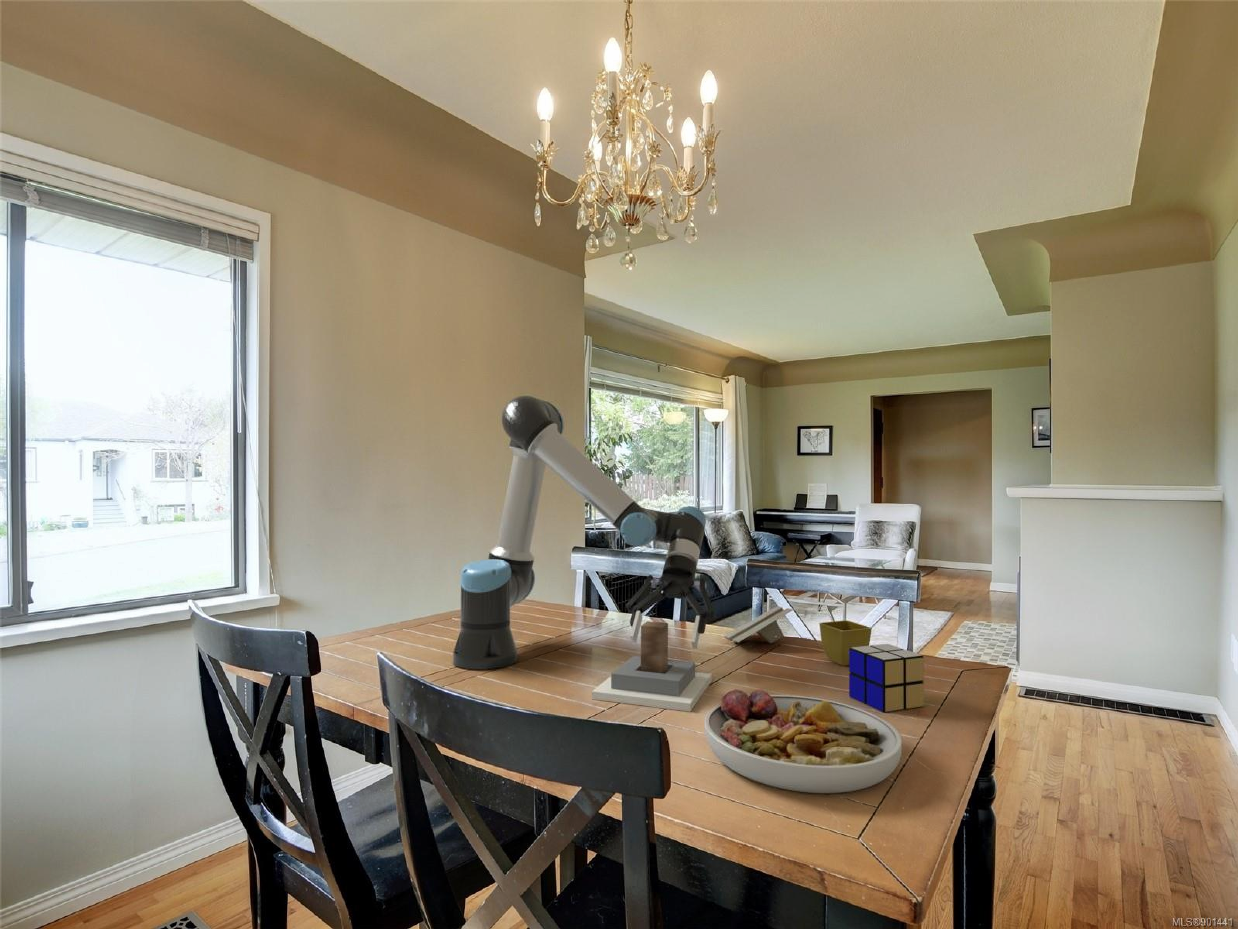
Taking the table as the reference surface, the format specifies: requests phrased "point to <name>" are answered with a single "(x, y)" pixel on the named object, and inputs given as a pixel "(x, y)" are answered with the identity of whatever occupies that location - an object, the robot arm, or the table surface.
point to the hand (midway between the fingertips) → (662, 642)
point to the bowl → (802, 742)
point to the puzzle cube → (886, 677)
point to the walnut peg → (654, 647)
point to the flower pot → (843, 639)
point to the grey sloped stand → (761, 626)
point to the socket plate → (655, 698)
